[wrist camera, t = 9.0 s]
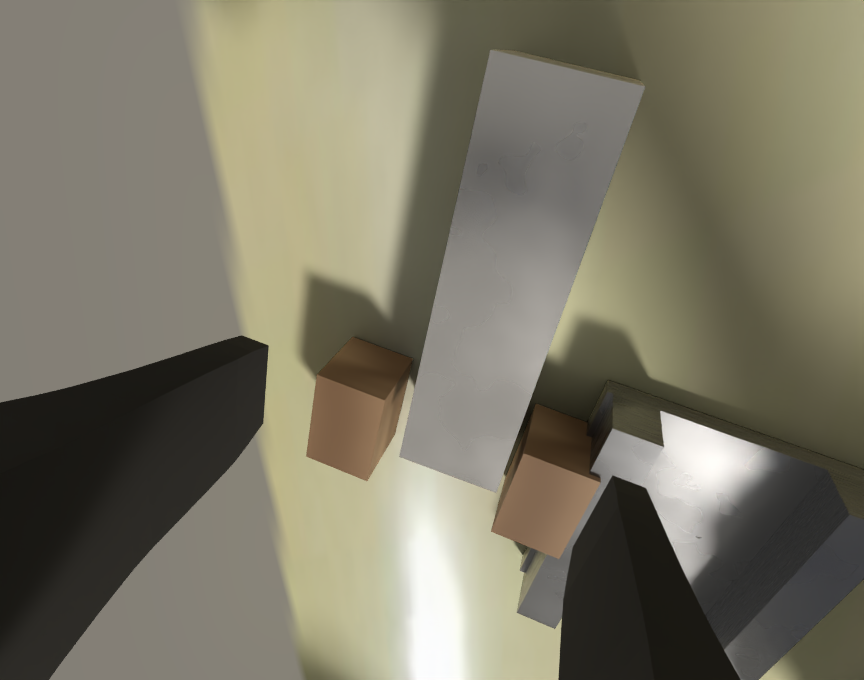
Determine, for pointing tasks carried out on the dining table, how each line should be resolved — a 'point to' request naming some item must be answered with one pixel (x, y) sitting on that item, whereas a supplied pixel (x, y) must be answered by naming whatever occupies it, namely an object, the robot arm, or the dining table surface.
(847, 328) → the dining table surface
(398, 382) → the wooden blocks
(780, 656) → the block
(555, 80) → the grey rectangular bar
